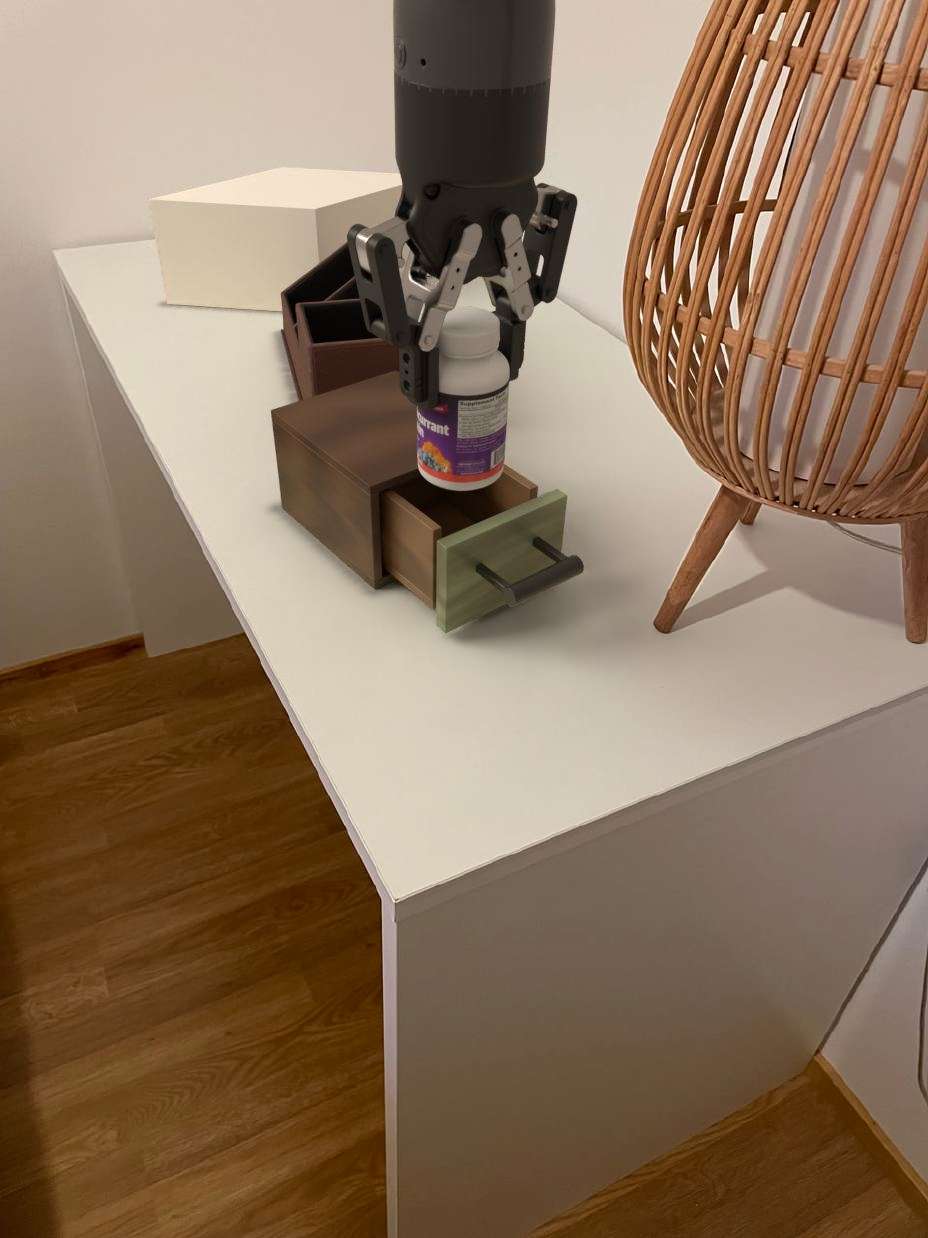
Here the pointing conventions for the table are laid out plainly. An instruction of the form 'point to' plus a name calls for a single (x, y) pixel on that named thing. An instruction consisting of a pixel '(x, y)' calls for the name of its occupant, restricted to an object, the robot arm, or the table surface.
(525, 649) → the table surface
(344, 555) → the cabinet
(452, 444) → the pill bottle
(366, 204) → the block
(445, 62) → the robot arm
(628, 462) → the table surface
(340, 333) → the desk organizer
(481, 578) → the drawer
